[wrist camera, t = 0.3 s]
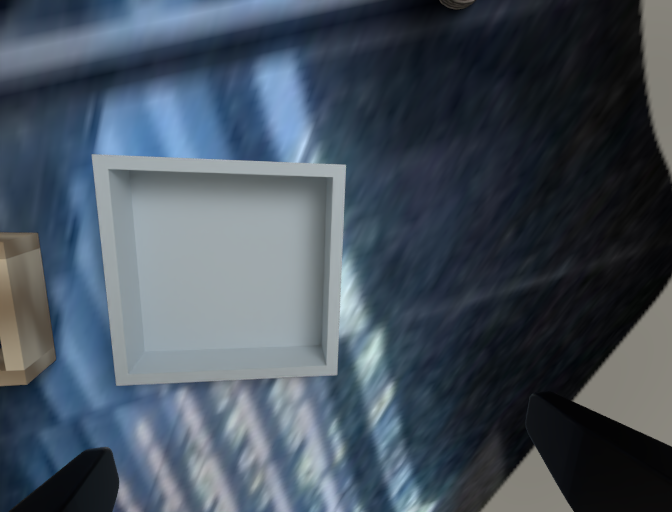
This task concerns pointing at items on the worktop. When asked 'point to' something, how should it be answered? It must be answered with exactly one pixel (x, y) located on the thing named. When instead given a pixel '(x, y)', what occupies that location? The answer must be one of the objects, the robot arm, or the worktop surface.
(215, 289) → the tray
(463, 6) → the lighter
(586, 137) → the worktop surface
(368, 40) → the worktop surface
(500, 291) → the worktop surface
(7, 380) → the holder
